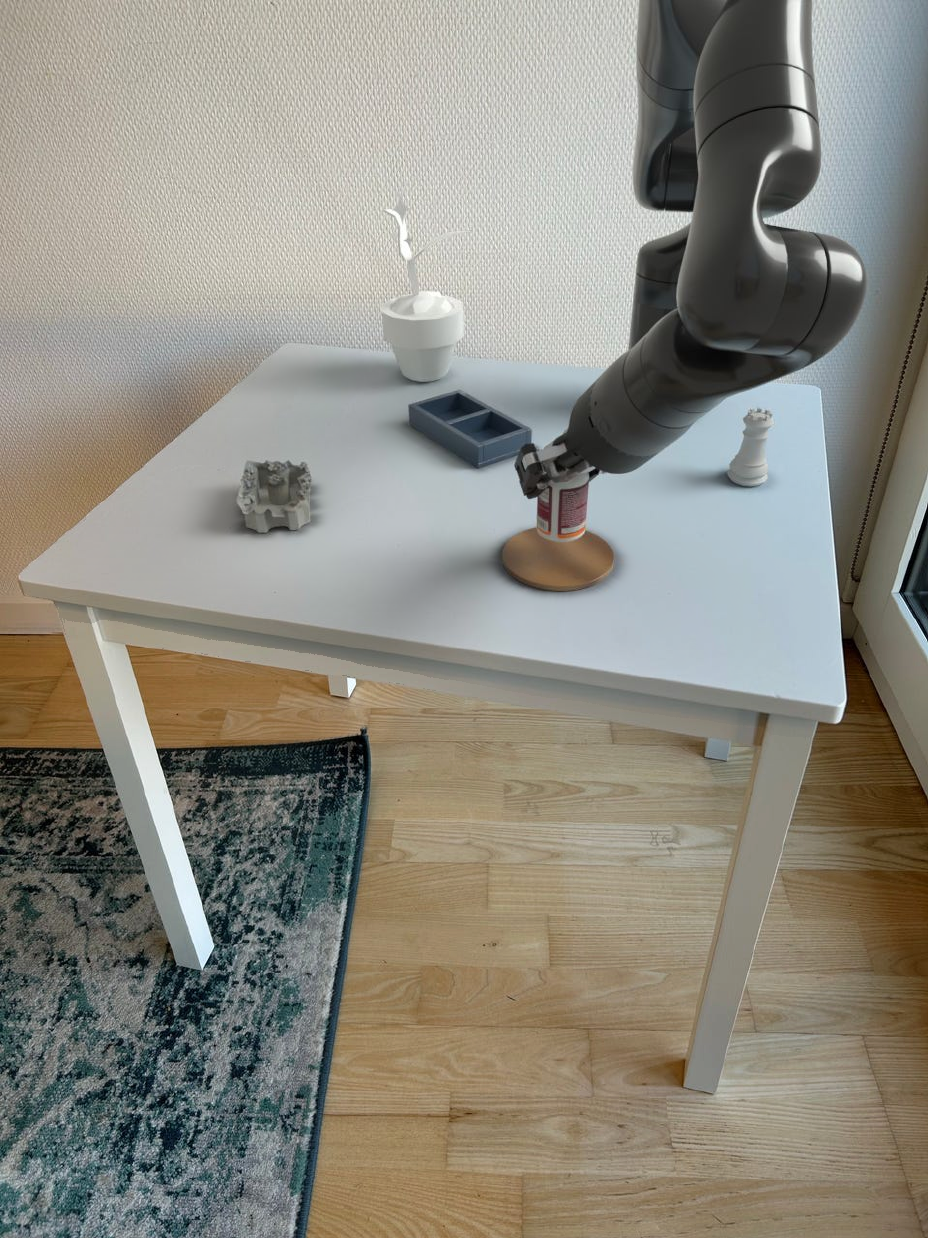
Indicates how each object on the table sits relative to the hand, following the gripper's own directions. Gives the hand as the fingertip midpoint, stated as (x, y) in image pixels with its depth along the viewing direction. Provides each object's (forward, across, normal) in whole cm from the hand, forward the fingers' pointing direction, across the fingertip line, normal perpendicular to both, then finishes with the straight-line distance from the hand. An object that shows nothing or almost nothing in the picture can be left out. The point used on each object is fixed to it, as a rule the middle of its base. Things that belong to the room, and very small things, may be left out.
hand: (552, 482), depth 82 cm
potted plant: (+40, -8, -29) cm, 50 cm away
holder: (+25, -4, -14) cm, 29 cm away
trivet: (+4, 0, +7) cm, 8 cm away
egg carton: (+20, +22, -9) cm, 31 cm away
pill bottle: (+2, 0, +4) cm, 5 cm away
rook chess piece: (+8, -28, +3) cm, 29 cm away
